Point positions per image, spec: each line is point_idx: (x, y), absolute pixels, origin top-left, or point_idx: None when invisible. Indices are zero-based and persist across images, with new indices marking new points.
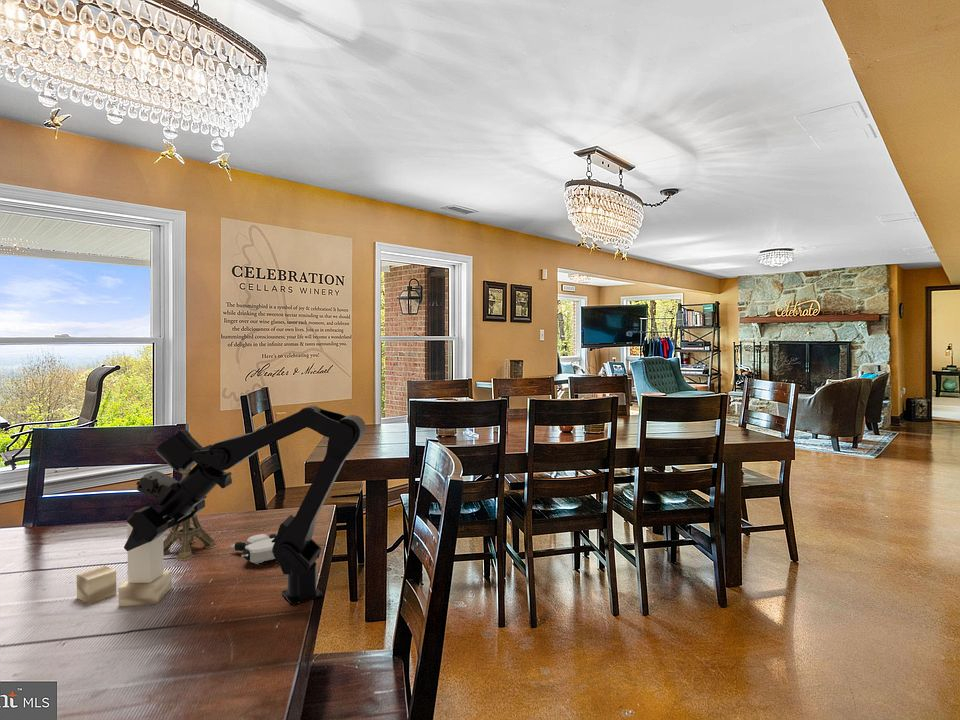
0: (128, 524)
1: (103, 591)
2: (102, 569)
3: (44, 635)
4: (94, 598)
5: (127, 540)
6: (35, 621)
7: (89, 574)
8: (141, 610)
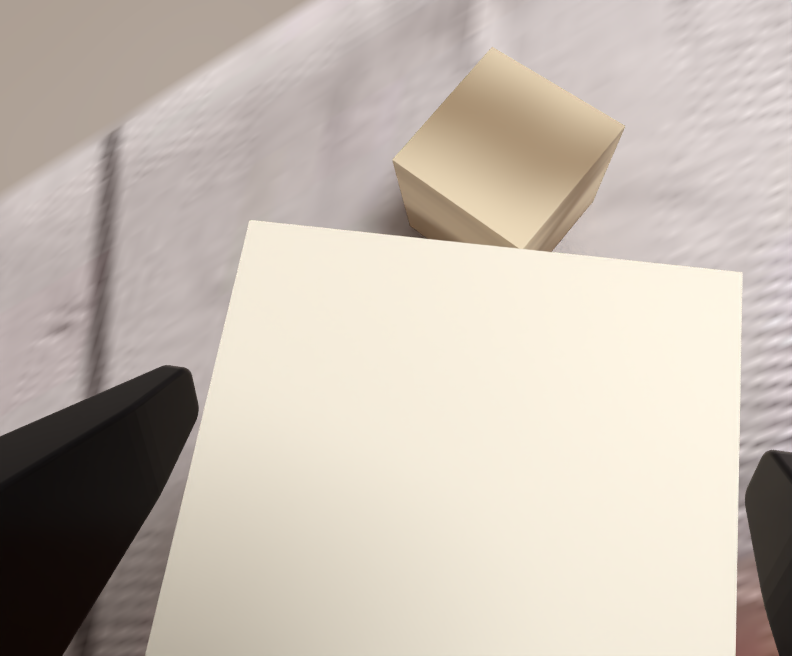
0: (249, 254)
1: None
2: (553, 152)
3: (151, 212)
4: (427, 232)
5: (43, 420)
6: (281, 104)
7: (477, 120)
8: None
